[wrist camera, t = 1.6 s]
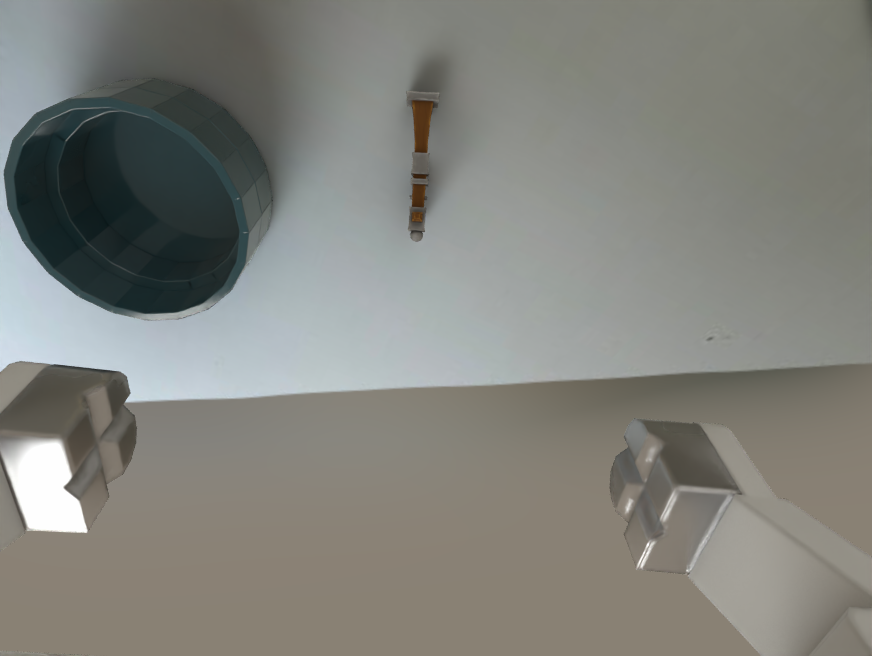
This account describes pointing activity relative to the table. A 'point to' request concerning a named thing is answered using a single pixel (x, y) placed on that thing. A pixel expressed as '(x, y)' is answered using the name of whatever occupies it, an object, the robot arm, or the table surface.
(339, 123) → the table surface
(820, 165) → the table surface
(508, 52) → the table surface
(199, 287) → the teal round bowl
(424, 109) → the wooden post with brackets
